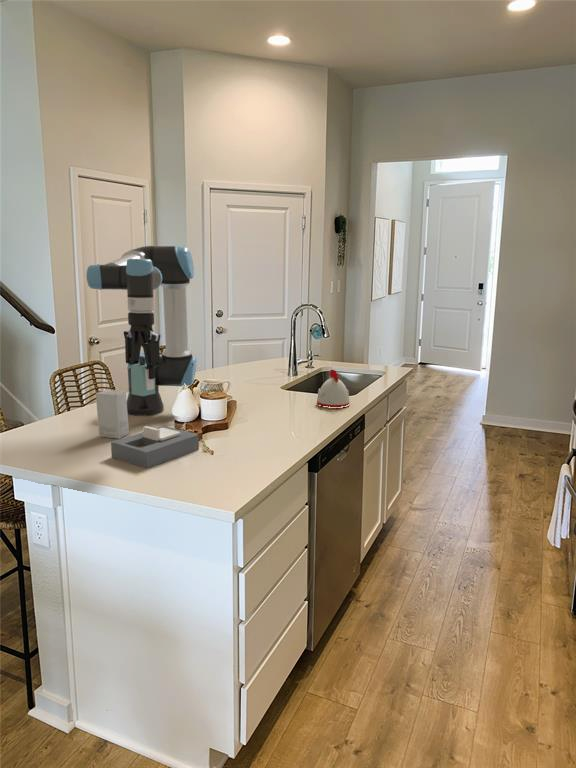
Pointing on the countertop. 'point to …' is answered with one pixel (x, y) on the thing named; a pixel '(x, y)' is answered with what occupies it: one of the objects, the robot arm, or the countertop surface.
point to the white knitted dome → (333, 392)
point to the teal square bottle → (140, 378)
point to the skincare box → (112, 414)
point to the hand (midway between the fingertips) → (143, 388)
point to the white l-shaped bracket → (159, 433)
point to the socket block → (153, 448)
